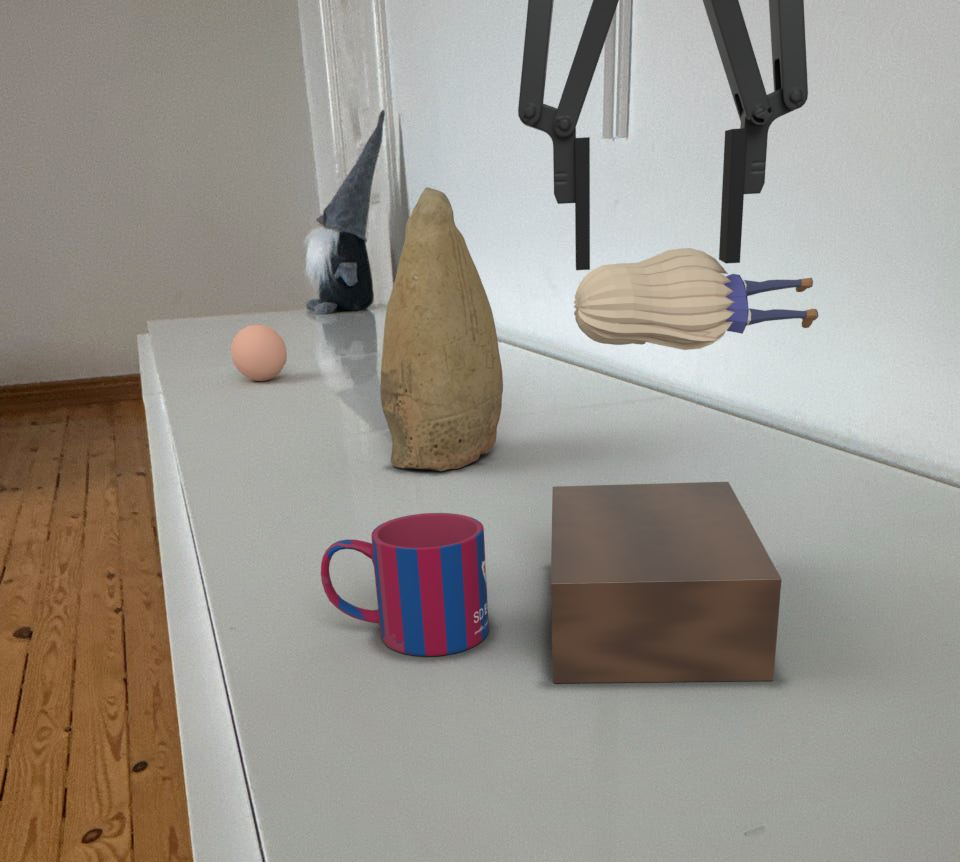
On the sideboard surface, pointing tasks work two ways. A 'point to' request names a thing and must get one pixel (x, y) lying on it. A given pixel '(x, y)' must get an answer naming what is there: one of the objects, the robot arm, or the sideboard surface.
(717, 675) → the walnut block
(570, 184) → the robot arm
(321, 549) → the sideboard surface
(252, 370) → the toy ball
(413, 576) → the mug
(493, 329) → the sculpture
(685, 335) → the figurine
